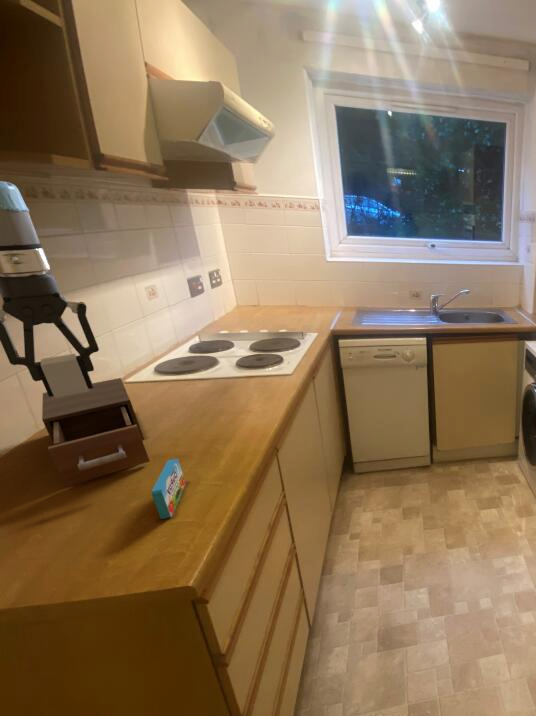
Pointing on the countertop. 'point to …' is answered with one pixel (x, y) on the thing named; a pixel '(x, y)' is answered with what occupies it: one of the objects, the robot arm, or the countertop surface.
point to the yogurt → (168, 488)
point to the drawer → (96, 445)
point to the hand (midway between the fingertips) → (71, 390)
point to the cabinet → (88, 403)
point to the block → (64, 375)
